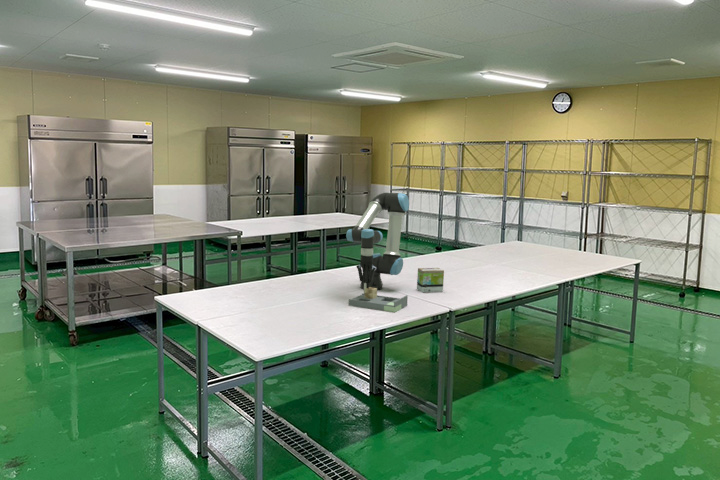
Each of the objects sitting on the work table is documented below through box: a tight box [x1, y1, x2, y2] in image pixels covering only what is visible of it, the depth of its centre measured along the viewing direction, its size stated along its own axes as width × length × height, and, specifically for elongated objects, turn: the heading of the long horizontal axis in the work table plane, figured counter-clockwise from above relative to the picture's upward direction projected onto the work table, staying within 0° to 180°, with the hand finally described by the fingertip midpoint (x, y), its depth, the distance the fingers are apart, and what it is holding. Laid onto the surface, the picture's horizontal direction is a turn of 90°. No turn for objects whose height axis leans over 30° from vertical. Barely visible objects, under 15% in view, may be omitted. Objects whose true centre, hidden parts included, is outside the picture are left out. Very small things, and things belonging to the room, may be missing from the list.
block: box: [365, 287, 378, 299], centre depth 337 cm, size 6×6×6 cm
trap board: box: [348, 292, 409, 313], centre depth 330 cm, size 30×18×6 cm, turn 63°
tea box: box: [416, 267, 445, 293], centre depth 370 cm, size 15×10×15 cm
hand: (365, 293), depth 338 cm, fingers closed
